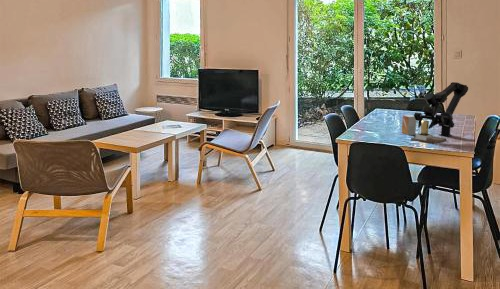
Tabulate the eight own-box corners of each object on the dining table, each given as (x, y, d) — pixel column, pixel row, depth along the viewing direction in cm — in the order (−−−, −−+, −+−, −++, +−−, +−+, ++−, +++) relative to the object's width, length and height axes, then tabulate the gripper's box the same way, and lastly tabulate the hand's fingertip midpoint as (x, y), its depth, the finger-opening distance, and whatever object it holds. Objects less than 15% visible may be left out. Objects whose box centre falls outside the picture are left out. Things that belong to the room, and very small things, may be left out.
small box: (401, 133, 324) (402, 115, 321) (409, 132, 325) (410, 114, 322) (407, 135, 316) (408, 116, 313) (415, 134, 317) (416, 116, 315)
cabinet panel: (424, 136, 310) (424, 135, 310) (446, 140, 298) (446, 138, 298) (410, 139, 301) (411, 138, 300) (433, 143, 288) (433, 141, 288)
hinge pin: (424, 137, 300) (425, 120, 297) (428, 139, 296) (430, 121, 293) (418, 138, 299) (420, 120, 296) (423, 139, 295) (424, 121, 292)
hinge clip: (421, 137, 303) (422, 132, 302) (432, 139, 297) (432, 134, 296) (415, 138, 298) (415, 134, 297) (426, 140, 292) (426, 136, 291)
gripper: (416, 100, 301) (406, 118, 296) (443, 102, 288) (434, 122, 283) (420, 110, 308) (411, 128, 303) (448, 113, 295) (438, 132, 290)
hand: (423, 127), depth 295 cm, fingers open, 7 cm apart
